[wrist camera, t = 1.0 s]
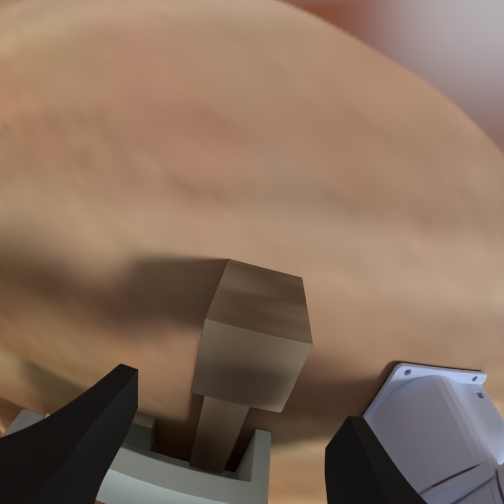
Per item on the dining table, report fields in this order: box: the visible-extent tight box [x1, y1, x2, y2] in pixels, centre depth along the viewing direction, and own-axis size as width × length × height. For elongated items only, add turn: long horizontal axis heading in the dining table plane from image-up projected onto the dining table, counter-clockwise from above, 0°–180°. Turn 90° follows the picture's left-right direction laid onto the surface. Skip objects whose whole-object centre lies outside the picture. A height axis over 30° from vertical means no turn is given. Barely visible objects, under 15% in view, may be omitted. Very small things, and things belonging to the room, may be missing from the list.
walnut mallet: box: [189, 259, 313, 474], centre depth 17 cm, size 4×20×6 cm, turn 166°
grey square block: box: [123, 411, 155, 452], centre depth 22 cm, size 4×4×2 cm
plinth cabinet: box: [45, 413, 271, 504], centre depth 19 cm, size 16×9×7 cm, turn 76°
